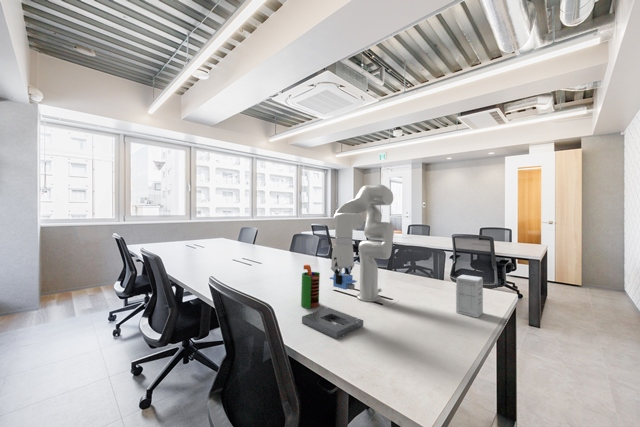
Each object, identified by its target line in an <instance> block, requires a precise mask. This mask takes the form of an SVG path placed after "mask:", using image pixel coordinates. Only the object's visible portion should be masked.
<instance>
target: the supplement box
mask: <svg viewBox="0 0 640 427" xmlns="http://www.w3.org/2000/svg"><path fill="white" fill-rule="evenodd" d="M483 281H484V279H483V277H482V276H475V275H468V274H467V275H466V274H461V275H459V276H457V277H456V282H455V283H456V285H455V289H456V290H455V295H456V297H455V298H456V299H455V306H456V307H455V312H456V313H457V314H459V315H463V316H469V317H473V318H476V317H477V318H479V317H480V316H481V315H482V314H484V311H483V310H484V308H483V307H484V306H483V305H484V303H483V301H484V300H483V299H484V298H483V296H484V290H483V289H484V286H483V285H484V282H483Z"/></svg>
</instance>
